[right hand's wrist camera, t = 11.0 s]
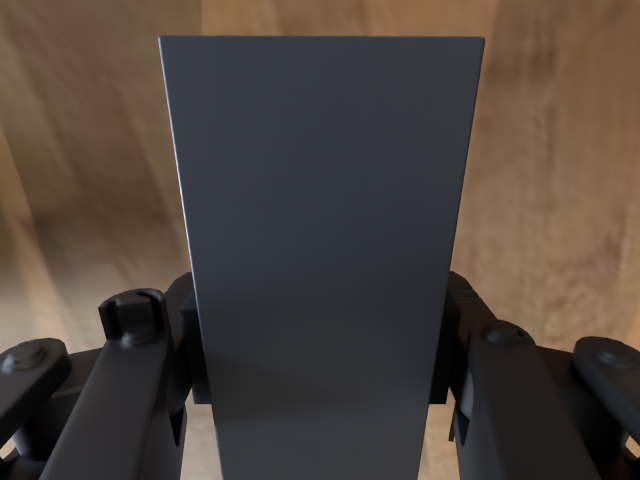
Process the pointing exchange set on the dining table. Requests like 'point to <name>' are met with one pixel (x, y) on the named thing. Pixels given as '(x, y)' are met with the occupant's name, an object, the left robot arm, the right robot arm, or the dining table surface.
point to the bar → (320, 239)
